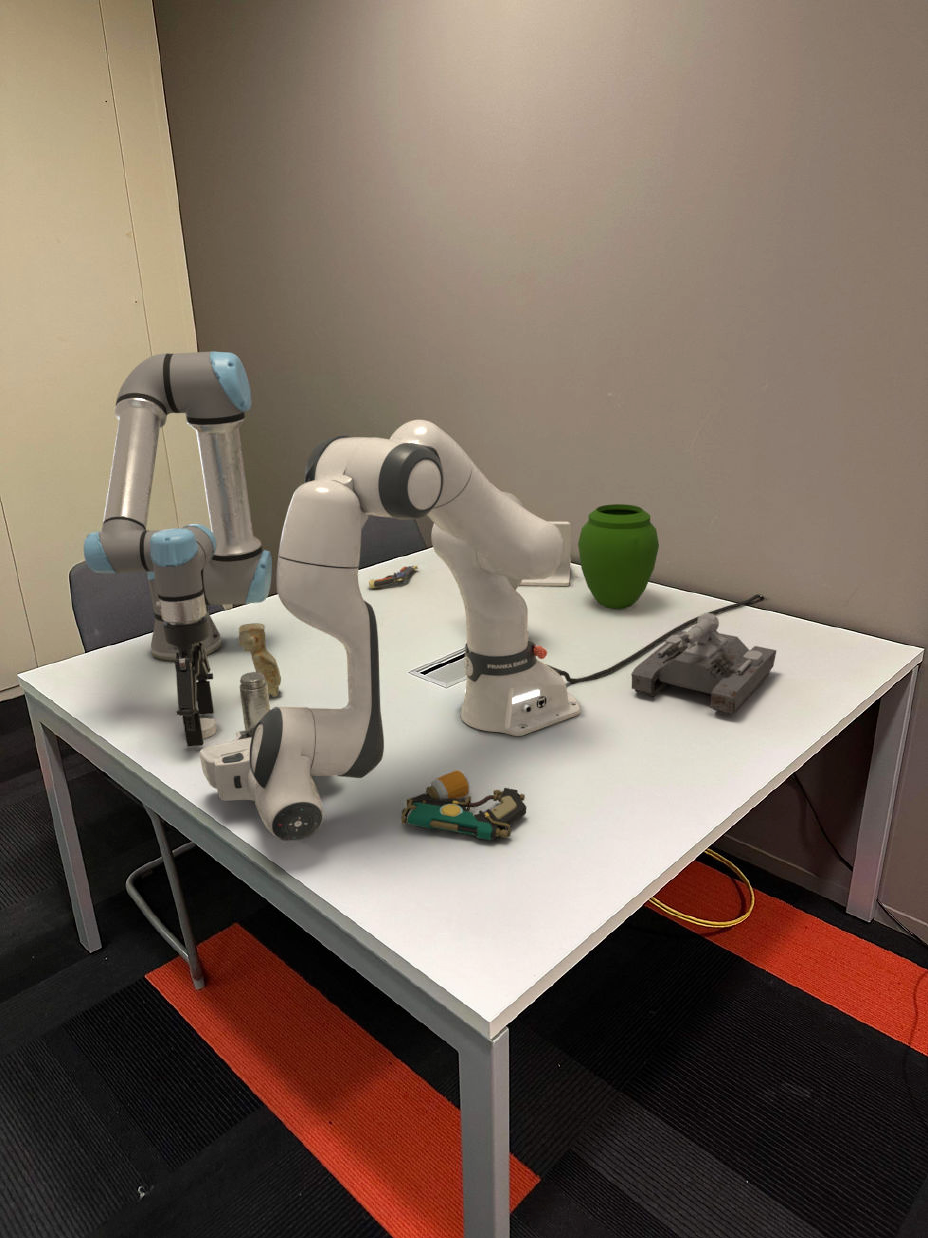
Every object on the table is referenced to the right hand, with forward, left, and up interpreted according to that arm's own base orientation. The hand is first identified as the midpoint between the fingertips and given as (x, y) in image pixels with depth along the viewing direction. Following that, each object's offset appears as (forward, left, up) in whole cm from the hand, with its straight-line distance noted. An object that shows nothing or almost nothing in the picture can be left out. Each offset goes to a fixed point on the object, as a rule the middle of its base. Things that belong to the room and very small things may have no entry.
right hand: (258, 731), depth 143 cm
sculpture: (-5, -27, -6) cm, 29 cm away
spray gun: (-25, +30, -6) cm, 39 cm away
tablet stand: (-87, -73, -6) cm, 114 cm away
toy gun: (-53, -86, -6) cm, 101 cm away
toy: (-86, +7, -6) cm, 87 cm away
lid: (+8, -17, -5) cm, 19 cm away
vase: (-96, -40, -6) cm, 104 cm away
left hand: (+8, -17, -6) cm, 20 cm away
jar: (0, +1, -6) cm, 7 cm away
